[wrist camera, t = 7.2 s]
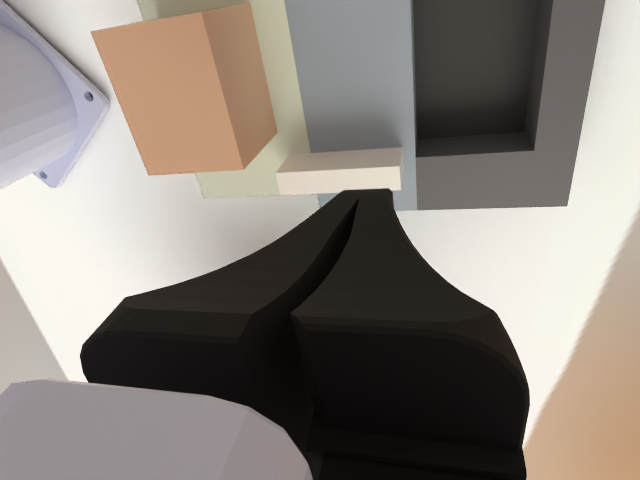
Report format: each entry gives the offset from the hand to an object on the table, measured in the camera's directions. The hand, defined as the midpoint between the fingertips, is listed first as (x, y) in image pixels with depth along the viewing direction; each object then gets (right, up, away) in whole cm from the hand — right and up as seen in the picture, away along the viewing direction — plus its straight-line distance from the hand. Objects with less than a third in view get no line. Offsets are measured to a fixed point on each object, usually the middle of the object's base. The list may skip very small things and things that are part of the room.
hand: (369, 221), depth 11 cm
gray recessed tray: (+3, +8, +6) cm, 10 cm away
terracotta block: (-6, +6, +6) cm, 10 cm away
